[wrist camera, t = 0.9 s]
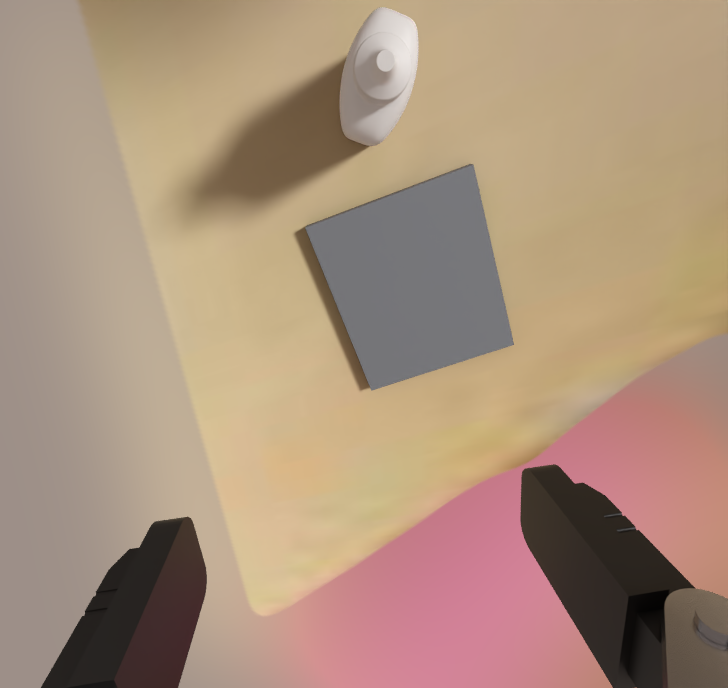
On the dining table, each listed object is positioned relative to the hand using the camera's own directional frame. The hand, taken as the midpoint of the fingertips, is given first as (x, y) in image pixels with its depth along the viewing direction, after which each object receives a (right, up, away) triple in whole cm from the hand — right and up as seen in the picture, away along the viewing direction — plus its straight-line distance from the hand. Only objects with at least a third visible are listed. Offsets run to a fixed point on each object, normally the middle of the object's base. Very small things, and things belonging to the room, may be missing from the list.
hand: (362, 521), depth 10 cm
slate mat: (+4, +9, +22) cm, 24 cm away
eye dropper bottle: (0, +20, +17) cm, 26 cm away
